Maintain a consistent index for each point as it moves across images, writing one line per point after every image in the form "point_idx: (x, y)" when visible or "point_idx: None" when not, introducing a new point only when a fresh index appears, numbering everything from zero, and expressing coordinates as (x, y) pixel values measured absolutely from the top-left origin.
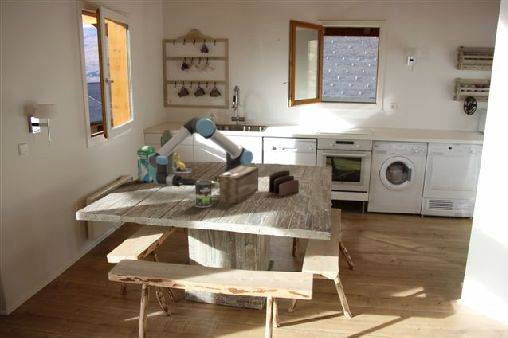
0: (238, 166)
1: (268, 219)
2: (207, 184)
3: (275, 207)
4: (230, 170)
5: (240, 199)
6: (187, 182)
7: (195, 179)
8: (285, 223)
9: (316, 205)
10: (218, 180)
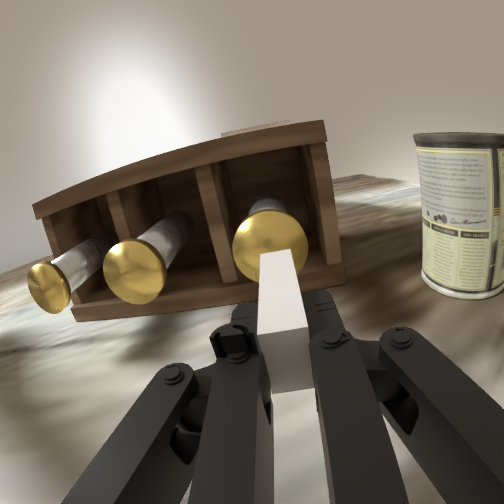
0: (45, 198)
1: (381, 190)
2: (454, 132)
3: None
4: (141, 160)
5: None
6: (497, 415)
7: (118, 433)
8: (374, 183)
9: None
10: (156, 251)
